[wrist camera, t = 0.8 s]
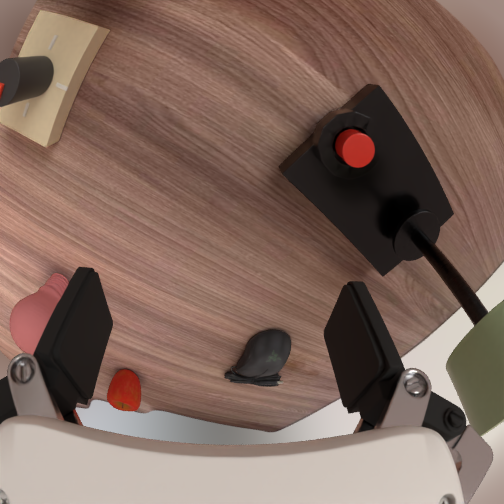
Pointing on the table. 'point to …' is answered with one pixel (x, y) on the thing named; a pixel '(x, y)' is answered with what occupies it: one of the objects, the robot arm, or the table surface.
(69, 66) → the dimmer
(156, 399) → the table surface
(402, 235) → the lamp
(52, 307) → the light bulb
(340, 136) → the button
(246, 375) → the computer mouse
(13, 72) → the dimmer knob
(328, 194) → the lamp base
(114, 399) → the apple
